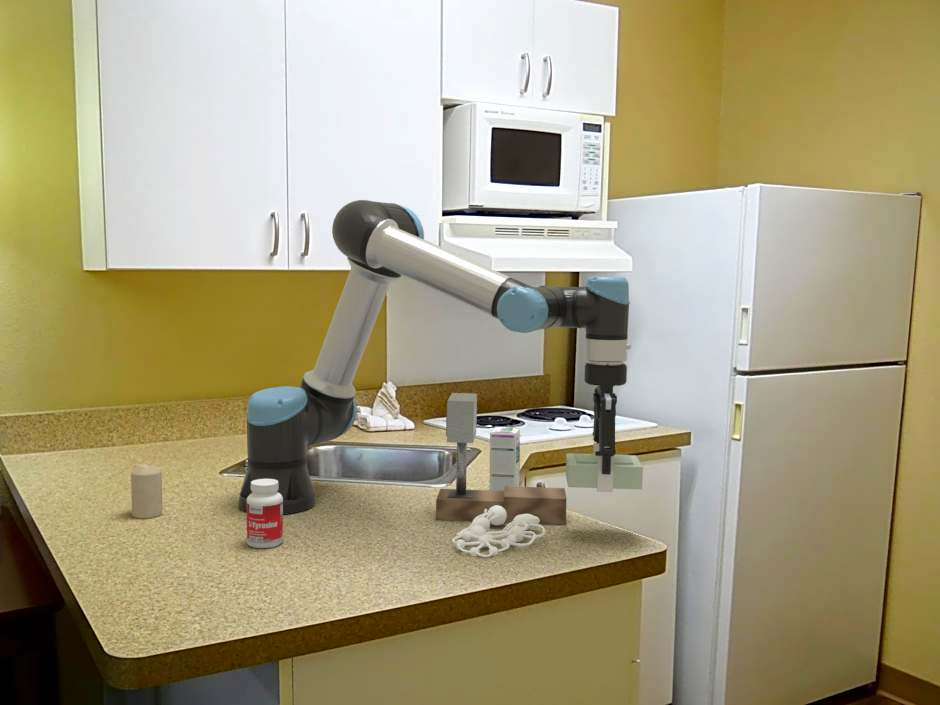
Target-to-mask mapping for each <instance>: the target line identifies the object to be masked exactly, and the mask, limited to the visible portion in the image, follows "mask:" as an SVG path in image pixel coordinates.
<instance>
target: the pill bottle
mask: <svg viewBox="0 0 940 705" xmlns="http://www.w3.org/2000/svg"><path fill="white" fill-rule="evenodd" d="M278 488H279V486H278V481H277V480H275V479H257V480H253V481H252V482H251V491H252V493H251V494H250V495H249V496H248V497H247V512H246V545H247V546H249V547H250V548H254V549H271V548H275V547H278V546H280V545H281V544H282V543H283V541H284V540H283V539H284V538H283V537H284V536H283V535H284V534H283V533H284V514H283V497H282V495H281V494H280V493H278V492H277V490H278Z"/></svg>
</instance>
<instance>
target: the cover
mask: <svg viewBox="0 0 940 705" xmlns="http://www.w3.org/2000/svg"><path fill="white" fill-rule="evenodd" d="M565 458H566V459H565V478H566V483H567V488H583V489H584V488H585V489H587V488H588V489H597V474H598V456H595V454H593V453H566V456H565ZM643 473H644V467H643V464H642V463H641V462H640V460H639V458H638V456H637V455H633V454H632V455H630V454H615V455H614V469H613V490H614V489H615V490H616V489H619V490H643V476H644V475H643Z"/></svg>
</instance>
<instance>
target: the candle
mask: <svg viewBox="0 0 940 705" xmlns="http://www.w3.org/2000/svg"><path fill="white" fill-rule="evenodd" d="M162 471H163V470H162V469H161V468H159V467H158V466H157V465H155V464H151V463H144V462H141V463H139V464H138V465H136V467H134V468H133V470H132V471H131V472H130V479H131V480H130V482H131V483H130V486H131V487H130V489H131V516H132V518H134V519H141V520H142V519H155V518H158V517H160V516H162V515H163V478H162V477H163V475H162V473H163V472H162Z"/></svg>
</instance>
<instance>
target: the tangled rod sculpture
mask: <svg viewBox="0 0 940 705" xmlns="http://www.w3.org/2000/svg"><path fill="white" fill-rule="evenodd" d="M486 512H487V509H485V510H484V514H482V515H479V516H477V517H476V518H475V519H474V520H473V521H471V524H469V526H468V527H466V528H463V529H462V530H461V531H459V532H457V533H456V536H455V537H453V538H452V540H451V542H452V543H453V544H455V548H456V549H459V550H460V552H463V553H465V554H469V555H470V556H471V557H475V558H476V557H478V556H479V557H481V558H482V557H483V558H490V557H497V556H498V555H499V553H500V552H504V551H507V550H508V549H509V548H510V545H511V546H516V547H528V546H531V545H532V544H533V542H535V539H538V538H541V537H544V536H545V534H546V528H545V527H544V526H543V525H542V524H539V522H540V520H539V518H538V517H536V516H533V515H531V514H520V515H517V516H516V517H515V518H514V520H513V521H512V522H508V524H507V525H506V526H504V528H503V529H502V530H500V531H488V530H489V529H490V527H491V525H493V526H501V525H503V524H505V523H506V522H505V521H506V518H507V513H506V510H505V509H504V508H503V507H502V506H499V505H495V506H492V507H491V508H490V509H489V510H488V512H487V513H486ZM485 517H486V518H485ZM532 527H533V528H540V529H541V531H542V533H540V534H536V532H534V531H531V530H529V529H531V528H532ZM529 534H530V535H529ZM506 537H507V538H506ZM459 538H460V539H459ZM500 538H501V540H500ZM525 538H527V539H530V540H529V542H526V543H525V542H524V543H520V542H522V541H523V540H524V539H525ZM498 539H499V540H498ZM466 541H467V542H466ZM492 544H497V545H500V547H502V548H500V549H498V547H496V546H492ZM466 546H468V547H469V546H473V547H471V548H470V549H469V550H467V549H464V548H465V547H466ZM475 546H476V547H475ZM483 548H485V549H486V548H488V554H483V553H481V552H480V550H481V549H483Z"/></svg>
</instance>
